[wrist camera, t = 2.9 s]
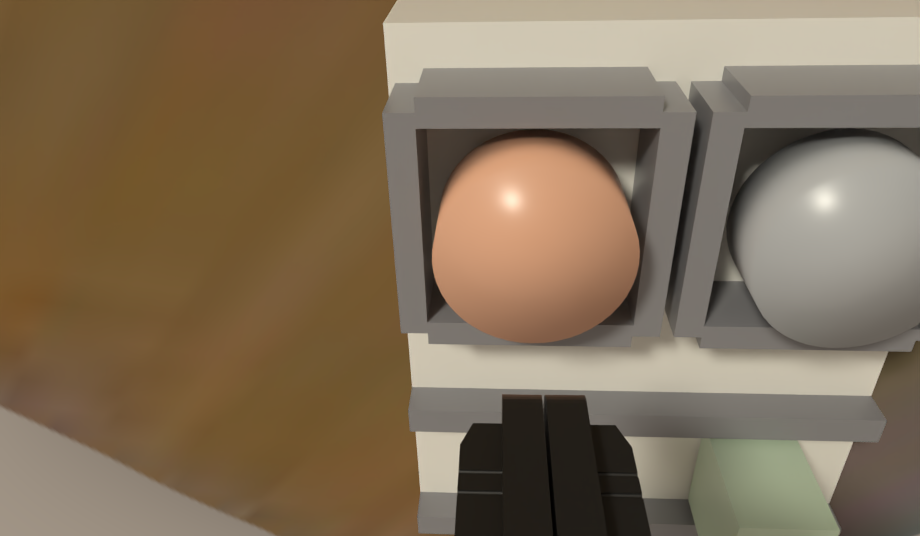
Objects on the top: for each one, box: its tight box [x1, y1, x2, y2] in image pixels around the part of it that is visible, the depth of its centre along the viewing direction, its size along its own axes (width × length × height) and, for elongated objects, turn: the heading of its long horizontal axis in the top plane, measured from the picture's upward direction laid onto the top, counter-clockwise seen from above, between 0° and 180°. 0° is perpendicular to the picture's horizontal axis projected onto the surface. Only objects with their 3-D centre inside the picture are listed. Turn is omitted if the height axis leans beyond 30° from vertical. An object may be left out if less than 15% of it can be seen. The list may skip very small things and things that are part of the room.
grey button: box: [726, 128, 920, 348], centre depth 18 cm, size 5×5×2 cm
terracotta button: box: [432, 129, 640, 343], centre depth 19 cm, size 5×5×2 cm
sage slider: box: [688, 438, 840, 536], centre depth 24 cm, size 4×3×4 cm
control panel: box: [382, 0, 920, 536], centre depth 24 cm, size 20×16×5 cm
